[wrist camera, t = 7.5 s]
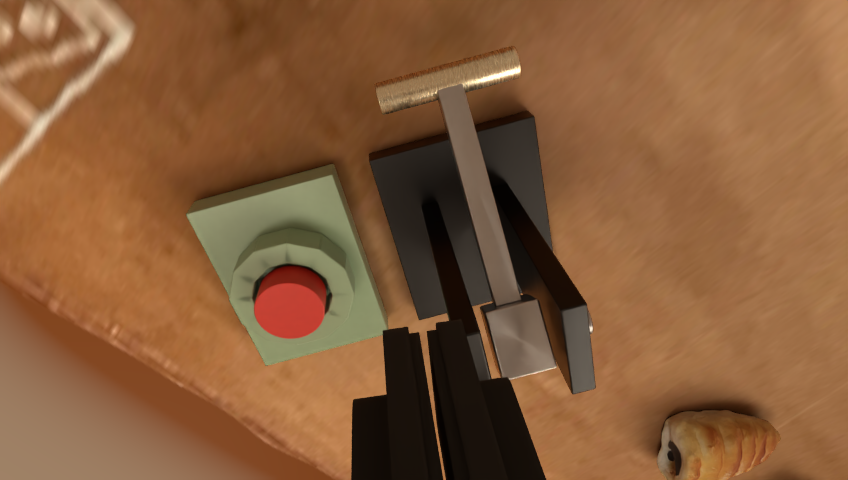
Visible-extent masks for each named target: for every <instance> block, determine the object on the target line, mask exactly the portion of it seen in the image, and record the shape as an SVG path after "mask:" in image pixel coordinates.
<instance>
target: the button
mask: <svg viewBox="0 0 848 480" xmlns="http://www.w3.org/2000/svg"><path fill="white" fill-rule="evenodd" d="M325 305H326V288H325V285H324V283H323V281H322V280H321V278H320V277H319V276H318V275H317V274H315V273H314V272H313V271H311V270H309V269H307V268H304V267H300V266H283V267H279V268H277V269H274V270H273V271H271V272H269V273H268V274H267V275H266V276H265V277H264V279H263V280H262V282H261V284H260V287H259V291H258V294H257V297H256V301H255V304H254V314H255V317H256V320H257V322H258V323H259V325H260V326H261V327H262V328H263V329H264V330H265V331H267V332H268V333H270V334H272V335H274V336H277V337H280V338H286V339H295V338H301V337H304V336H307V335H309V334H311V333H312V332H314V331H315V330H316V329H317V328H318V327H319V326H320V325H321V323H322V321H323V319H324V314H325Z"/></svg>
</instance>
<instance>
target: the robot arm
mask: <svg viewBox="0 0 848 480" xmlns="http://www.w3.org/2000/svg"><path fill="white" fill-rule="evenodd" d="M427 337H428V346H429V355H430V365H431V374H432V383H433V392H434V401H435V410H436V420H437V428H438V434H439V441H440V446H441V452H442V458H443V464H444V470H445V476H446V480H546V478H545V475H544V472H543V470H542V467H541V464H540V461H539V459H538V456H537V453H536V450H535V447H534V445H533V442H532V439H531V436H530V434H529V431H528V428H527V425H526V423H525V420H524V417H523V414H522V412H521V409H520V406H519V403H518V401H517V398H516V395H515V392H514V390H513V387H512V384H511V382H510V380H509V378H508V377H503V378H496V379H489V380H482V381H479V377H478V374H477V370H476V367H475V363H474V360H473V356H472V353H471V350H470V346H469V343H468V339H467V336H466V332H465V329H464V325H463V322H462V320H461V319H460V320H453V321H446V322H438V323H436V330H431V331H427ZM383 345H384V361H385V376H386V391H387V395H381V396H374V397H367V398H361V399H354V400H353V407H352V475H351V480H443V476H442V469H441V463H440V457H439V451H438V445H437V439H436V433H435V427H434V421H433V414H432V408H431V402H430V396H429V390H428V384H427V378H426V372H425V366H424V359H423V353H422V347H421V341H420V335H419V332H417V333H410V334H409V331H408V327H403V328H396V329H389V330H383Z"/></svg>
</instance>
